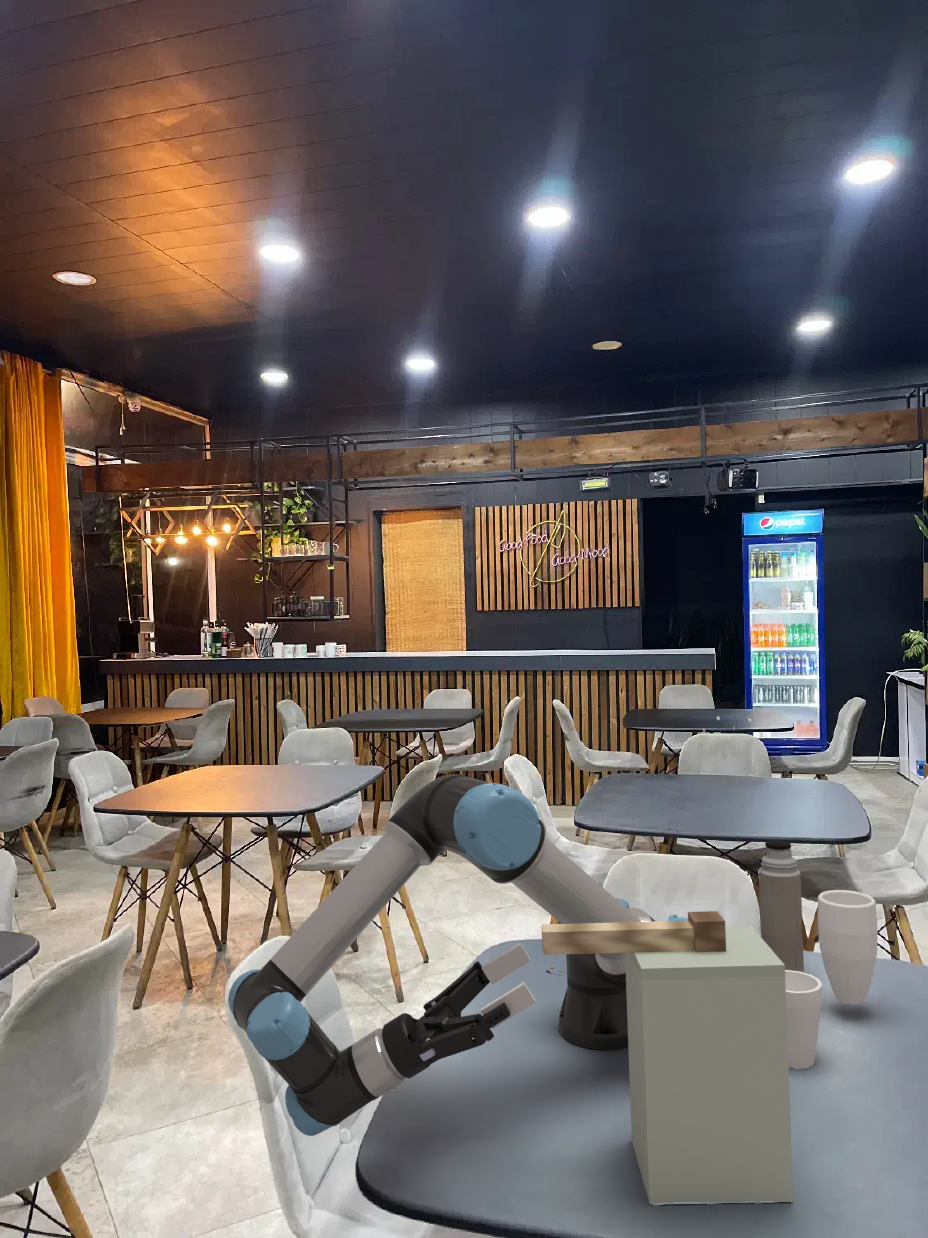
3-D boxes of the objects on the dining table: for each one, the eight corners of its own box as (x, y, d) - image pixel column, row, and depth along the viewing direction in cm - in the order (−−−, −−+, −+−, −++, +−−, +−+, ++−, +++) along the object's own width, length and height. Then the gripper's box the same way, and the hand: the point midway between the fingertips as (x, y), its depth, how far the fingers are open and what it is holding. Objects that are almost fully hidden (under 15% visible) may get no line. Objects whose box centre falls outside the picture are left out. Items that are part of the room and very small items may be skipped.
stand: (649, 1205, 113) (641, 968, 113) (631, 1141, 127) (624, 930, 127) (793, 1203, 112) (784, 965, 112) (759, 1138, 126) (751, 926, 126)
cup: (852, 1033, 156) (847, 910, 156) (807, 1010, 166) (803, 894, 166) (895, 1020, 161) (890, 901, 161) (849, 999, 170) (845, 886, 170)
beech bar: (718, 940, 122) (717, 911, 122) (726, 951, 118) (725, 921, 118) (542, 945, 122) (541, 916, 122) (544, 956, 118) (542, 926, 118)
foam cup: (829, 1076, 143) (826, 994, 143) (768, 1072, 144) (766, 991, 144) (818, 1047, 152) (815, 971, 152) (761, 1044, 154) (758, 968, 154)
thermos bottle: (796, 973, 183) (791, 836, 183) (810, 989, 175) (805, 846, 175) (757, 974, 183) (752, 838, 183) (769, 990, 175) (764, 848, 175)
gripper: (416, 1033, 133) (537, 958, 132) (399, 1130, 108) (548, 1038, 107) (389, 990, 133) (510, 915, 132) (366, 1077, 108) (515, 985, 107)
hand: (527, 970), depth 120 cm, fingers open, 13 cm apart
